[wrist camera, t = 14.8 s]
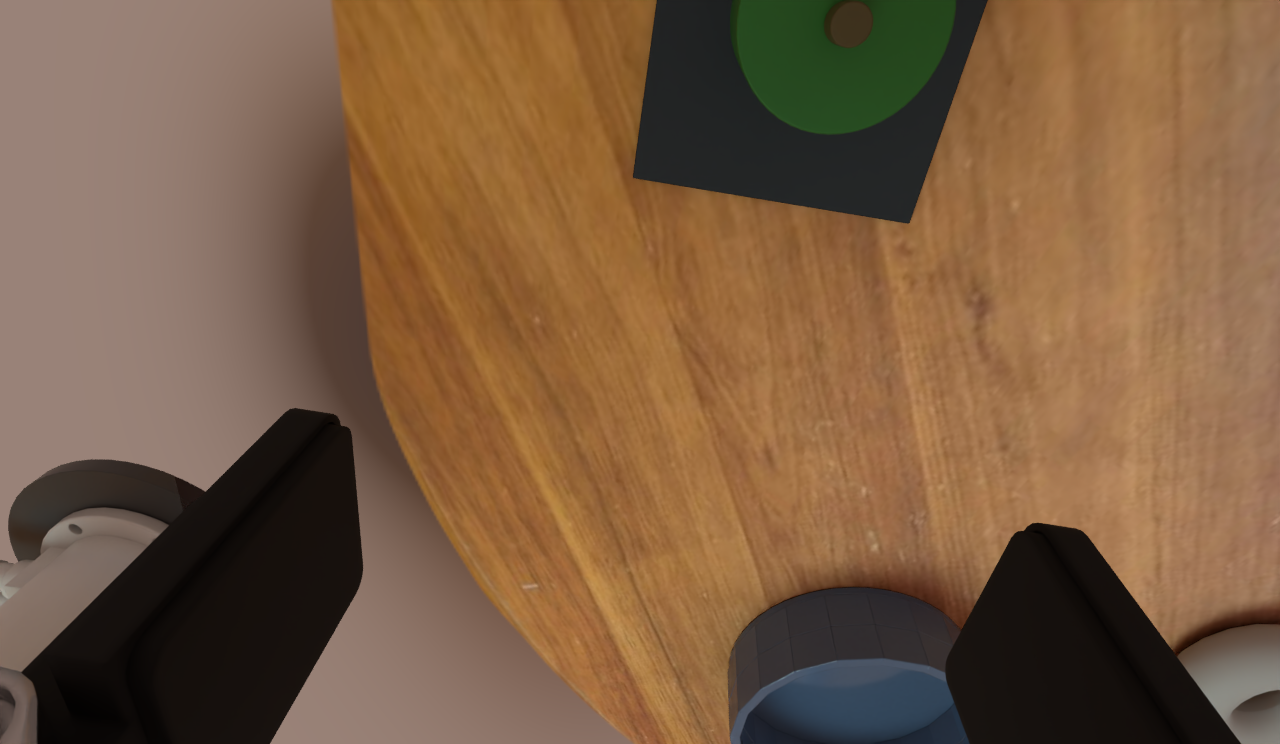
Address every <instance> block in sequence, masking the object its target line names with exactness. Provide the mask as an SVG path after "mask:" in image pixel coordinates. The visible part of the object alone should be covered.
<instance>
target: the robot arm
mask: <svg viewBox="0 0 1280 744" xmlns="http://www.w3.org/2000/svg"><path fill="white" fill-rule="evenodd" d="M40 551H41V555H40V556H39V557H38V558H37V559H35V560H34V561H33V560H22V561H19V562H18V563H16V564H13V563H8V562H7V561H3V560H0V591H1V592H0V744H270V743H271V741H272V739H273V737H274V736H275V734H276V732H277V730H278V729H279V727H280V725H281V723H282V721H283V720H284V718H285V716H286V715H287V713H288V711H289V710H290V708H291V706H292V704H293V702H294V701H295V699H296V697H297V696H298V694H299V692H300V690H301V689H302V687H303V685H304V683H305V682H306V680H307V678H308V676H309V675H310V673H311V671H312V669H313V668H314V666H315V664H316V662H317V661H318V659H319V657H320V655H321V654H322V652H323V650H324V648H325V647H326V645H327V643H328V641H329V640H330V638H331V636H332V635H333V633H334V631H335V629H336V627H337V626H338V624H339V622H340V621H341V619H342V617H343V615H344V613H345V612H346V610H347V608H348V607H349V605H350V603H351V602H352V600H353V598H354V596H355V594H356V592H357V590H358V588H359V585H360V582H361V579H362V573H363V559H362V549H361V536H360V526H359V514H358V502H357V490H356V479H355V467H354V456H353V445H352V435H351V431H350V429H349V428H348V427H345V426H341V425H340V421H339V419H338V417H337V416H336V415H334V414H330V413H323V412H316V411H310V410H304V409H297V408H294V409H290V410H288V411H287V412H285V413H284V414H283V415H282V416H281V417H280V418H279V419H278V420H277V421H276V422H275V423H274V424H273V425H272V426H271V427H270V428H269V429H268V430H267V431H266V432H265V433H264V434H263V435H262V436H261V437H260V438H259V439H258V440H257V441H256V442H255V443H254V444H253V445H252V446H251V447H250V448H249V449H248V450H247V451H246V452H245V453H244V454H243V455H242V456H241V457H240V458H239V459H238V460H237V461H236V462H235V463H234V464H233V465H232V466H231V467H230V468H229V469H228V470H227V471H226V472H225V473H224V474H223V475H222V476H221V477H220V478H219V479H218V480H217V481H216V482H215V483H214V484H213V485H212V486H211V487H210V488H209V489H208V490H207V491H206V492H205V493H204V494H203V495H202V496H201V497H199V498H198V499H197V500H195V501H194V502H193V503H191V504H190V505H189V506H188V507H187V508H186V509H185V510H184V511H183V512H182V513H181V514H180V515H179V516H178V517H177V518H176V519H175V520H174V521H173V522H172V523H171V524H170V525H168V524H166V523H164V522H162V521H160V520H158V519H155V518H152V517H150V516H147V515H144V514H141V513H137V512H133V511H129V510H125V509H116V508H105V507H103V508H88V509H84V510H80V511H77V512H74V513H72V514H70V515H68V516H66V517H65V518H63V519H62V520H61V521H60V522H58V523H57V524H56V525H55V526H54V527H53V528H51V529H50V530H49V531H48V533H47V534H46V536H45V537H44V539H43V542H42V546H41V550H40ZM945 675H946V681H947V684H948V687H949V690H950V693H951V695H952V698H953V701H954V703H955V706H956V709H957V711H958V714H959V717H960V719H961V722H962V725H963V728H964V730H965V733H966V736H967V738H968V741H969V744H1241V743H1240V741H1239V740H1238V739H1237V737H1236V736H1235V735H1234V733H1233V732H1232V731H1231V729H1230V728H1229V727H1228V725H1227V724H1226V722H1225V721H1224V720H1223V718H1222V717H1221V716H1220V714H1219V713H1218V712H1217V710H1216V709H1215V708H1214V706H1213V705H1212V704H1211V702H1210V701H1209V700H1208V698H1207V697H1206V695H1205V694H1204V693H1203V691H1202V690H1201V689H1200V687H1199V686H1198V685H1197V683H1196V682H1195V681H1194V679H1193V678H1192V677H1191V675H1190V674H1189V673H1188V671H1187V670H1186V668H1185V667H1184V666H1183V664H1182V663H1181V662H1180V660H1179V659H1178V658H1177V656H1176V655H1175V654H1174V652H1173V651H1172V650H1171V648H1170V647H1169V645H1168V644H1167V643H1166V641H1165V640H1164V639H1163V637H1162V636H1161V635H1160V633H1159V632H1158V631H1157V629H1156V628H1155V627H1154V625H1153V624H1152V623H1151V621H1150V620H1149V618H1148V617H1147V616H1146V614H1145V613H1144V612H1143V610H1142V609H1141V608H1140V606H1139V605H1138V604H1137V602H1136V601H1135V600H1134V598H1133V597H1132V596H1131V594H1130V593H1129V591H1128V590H1127V589H1126V587H1125V586H1124V585H1123V583H1122V582H1121V581H1120V579H1119V578H1118V577H1117V575H1116V574H1115V573H1114V571H1113V570H1112V569H1111V567H1110V566H1109V564H1108V563H1107V562H1106V560H1105V559H1104V558H1103V556H1102V555H1101V554H1100V552H1099V551H1098V550H1097V548H1096V547H1095V546H1094V544H1093V543H1092V542H1091V540H1090V539H1089V537H1088V536H1087V535H1086V534H1085V533H1084V532H1083V531H1081V530H1078V529H1075V528H1068V527H1062V526H1056V525H1049V524H1043V523H1032V524H1031V525H1029V526H1028V527H1027V528H1026V529H1025V530H1024V531H1018V532H1017V533H1015V534H1014V535H1013V537H1012V538H1011V540H1010V541H1009V543H1008V545H1007V547H1006V549H1005V551H1004V553H1003V554H1002V556H1001V558H1000V560H999V562H998V564H997V565H996V567H995V569H994V571H993V573H992V575H991V577H990V578H989V580H988V582H987V584H986V586H985V588H984V590H983V591H982V593H981V595H980V597H979V599H978V601H977V602H976V604H975V606H974V608H973V610H972V612H971V614H970V615H969V617H968V619H967V621H966V623H965V625H964V627H963V628H962V630H961V632H960V634H959V636H958V638H957V640H956V641H955V643H954V645H953V647H952V649H951V651H950V652H949V654H948V657H947V659H946V665H945Z"/></svg>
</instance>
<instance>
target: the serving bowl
mask: <svg viewBox="0 0 1280 744" xmlns="http://www.w3.org/2000/svg"><path fill="white" fill-rule="evenodd" d="M960 632H961V630H960V628H959V627H958V626H957V625H956V624H955V623H954V622H953V621H952V620H951V619H950V618H949V617H948V616H946V615H945V614H944V613H943V612H941V611H940V610H938V609H936V608H935V607H933V606H932V605H930V604H928V603H926V602H923V601H921V600H919V599H917V598H914V597H911V596H908V595H905V594H902V593H898V592H893V591H889V590H883V589H875V588H859V587H848V588H833V589H827V590H821V591H815V592H811V593H807V594H804V595H800V596H797V597H795V598H792V599H789V600H786V601H784V602H782V603H780V604H778V605H776V606H774V607H772V608H770V609H769V610H767V611H766V612H764V613H763V614H761V615H760V616H759V617H757V618H756V619H755V620H754V621H753V622H751V623H750V624H749V625H748V626H747V628H746V629H745V630H744V631H743V632H742V633H741V635H740V636H739V638H738V639H737V641H736V642H735V645H734V647H733V649H732V652H731V656H730V660H729V669H728V698H729V728H730V741H731V744H969V741H968V738H967V736H966V733H965V730H964V728H963V725H962V722H961V719H960V717H959V714H958V711H957V709H956V706H955V703H954V701H953V698H952V695H951V693H950V690H949V687H948V684H947V681H946V675H945V665H946V659H947V657H948V654H949V652H950V651H951V649H952V647H953V645H954V643H955V641H956V640H957V638H958V636H959V634H960Z"/></svg>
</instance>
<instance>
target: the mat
mask: <svg viewBox="0 0 1280 744" xmlns="http://www.w3.org/2000/svg"><path fill="white" fill-rule="evenodd" d="M732 1H733V0H657V3H656V11H655V18H654V26H653V33H652V40H651V48H650V55H649V62H648V70H647V77H646V84H645V92H644V99H643V107H642V114H641V121H640V129H639V136H638V143H637V151H636V158H635V165H634V173H633V178H636V179H642V180H649V181H655V182H661V183H667V184H673V185H679V186H685V187H691V188H697V189H703V190H709V191H715V192H721V193H727V194H733V195H739V196H745V197H751V198H757V199H763V200H769V201H775V202H781V203H787V204H793V205H799V206H806V207H812V208H818V209H824V210H830V211H836V212H842V213H848V214H854V215H860V216H866V217H872V218H878V219H884V220H890V221H896V222H902V223H910V220H911V217H912V214H913V211H914V208H915V206H916V203H917V200H918V197H919V194H920V191H921V188H922V186H923V183H924V180H925V177H926V174H927V171H928V168H929V166H930V163H931V160H932V157H933V154H934V151H935V149H936V146H937V143H938V140H939V137H940V134H941V131H942V129H943V126H944V123H945V120H946V117H947V114H948V111H949V109H950V106H951V103H952V100H953V97H954V94H955V91H956V89H957V86H958V83H959V80H960V77H961V74H962V72H963V69H964V66H965V63H966V60H967V57H968V54H969V52H970V49H971V46H972V43H973V40H974V37H975V34H976V32H977V29H978V26H979V23H980V20H981V17H982V14H983V12H984V9H985V6H986V3H987V0H956V11H955V18H954V24H953V28H952V32H951V36H950V39H949V42H948V45H947V47H946V50H945V52H944V55H943V57H942V59H941V61H940V63H939V64H938V66H937V68H936V70H935V71H934V73H933V74H932V76H931V77H930V79H929V80H928V82H927V83H926V84H925V86H924V87H923V88H922V89H921V90H920V91H919V93H918V94H917V95H916V96H915V97H914V98H913V99H912V100H911V101H910V102H909V103H908V104H906V105H905V106H904V107H903V108H901V109H900V110H899V111H897V112H896V113H895V114H894V115H892V116H890V117H888V118H887V119H885V120H883V121H882V122H880V123H877V124H875V125H873V126H871V127H868V128H865V129H862V130H859V131H856V132H851V133H845V134H832V135H826V134H816V133H811V132H807V131H803V130H800V129H798V128H795V127H792V126H790V125H788V124H787V123H785V122H783V121H781V120H780V119H778V118H777V117H776V116H774V115H773V114H772V113H771V112H769V111H768V110H767V109H766V108H765V107H764V105H763V104H762V103H761V102H760V101H759V100H758V98H757V97H756V96H755V94H754V93H753V91H752V90H751V88H750V86H749V84H748V82H747V80H746V78H745V76H744V74H743V72H742V70H741V68H740V66H739V64H738V61H737V59H736V56H735V53H734V50H733V45H732V41H731V33H730V14H731V6H732Z"/></svg>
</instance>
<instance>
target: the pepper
mask: <svg viewBox="0 0 1280 744" xmlns="http://www.w3.org/2000/svg"><path fill="white" fill-rule="evenodd" d="M955 11H956V0H733V1H732V6H731V14H730V33H731V41H732V45H733V50H734V53H735V56H736V59H737V61H738V64H739V66H740V68H741V70H742V72H743V74H744V76H745V78H746V80H747V82H748V84H749V86H750V88H751V90H752V91H753V93H754V94H755V96H756V97H757V98H758V100H759V101H760V102H761V103H762V104H763V105H764V107H765V108H766V109H767V110H768V111H769V112H771V113H772V114H773V115H774V116H776V117H777V118H778V119H780V120H781V121H783V122H785V123H787V124H788V125H790V126H792V127H795V128H798V129H800V130H803V131H807V132H811V133H816V134H826V135H832V134H845V133H851V132H856V131H859V130H862V129H865V128H868V127H871V126H873V125H875V124H877V123H880V122H882V121H883V120H885V119H887V118H888V117H890V116H892V115H894V114H895V113H896V112H897V111H899V110H900V109H901V108H903V107H904V106H905V105H906V104H908V103H909V102H910V101H911V100H912V99H913V98H914V97H915V96H916V95H917V94H918V93H919V91H920V90H921V89H922V88H923V87H924V86H925V84H926V83H927V82H928V80H929V79H930V77H931V76H932V74H933V73H934V71H935V70H936V68H937V66H938V64H939V63H940V61H941V59H942V57H943V55H944V52H945V50H946V47H947V45H948V42H949V39H950V36H951V32H952V28H953V24H954V18H955Z"/></svg>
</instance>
